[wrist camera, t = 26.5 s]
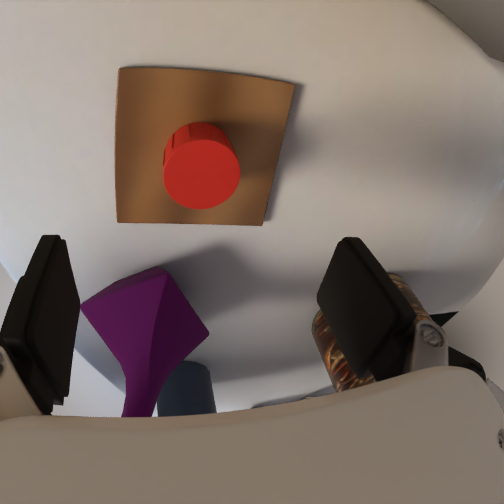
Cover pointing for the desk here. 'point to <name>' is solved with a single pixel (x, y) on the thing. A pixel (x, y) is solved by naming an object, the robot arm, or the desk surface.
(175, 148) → the cap
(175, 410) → the water bottle
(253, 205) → the coaster
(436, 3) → the alarm clock
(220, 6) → the desk surface
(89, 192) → the desk surface
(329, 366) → the jar
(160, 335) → the perfume bottle
